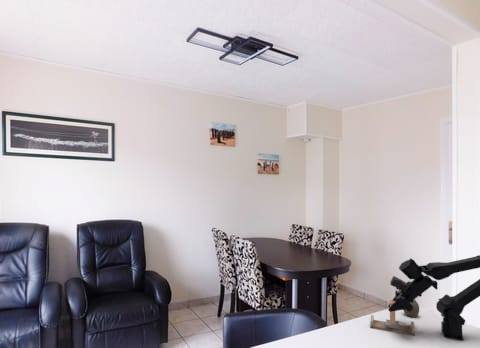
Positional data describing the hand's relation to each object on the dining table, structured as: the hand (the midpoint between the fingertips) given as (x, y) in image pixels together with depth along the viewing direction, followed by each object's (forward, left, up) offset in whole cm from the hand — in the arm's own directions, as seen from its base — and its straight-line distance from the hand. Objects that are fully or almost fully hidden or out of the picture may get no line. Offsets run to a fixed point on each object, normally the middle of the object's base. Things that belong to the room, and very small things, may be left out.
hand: (388, 308), depth 140 cm
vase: (-10, -19, -8) cm, 23 cm away
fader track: (-1, 0, -8) cm, 8 cm away
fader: (-1, 0, -7) cm, 7 cm away
